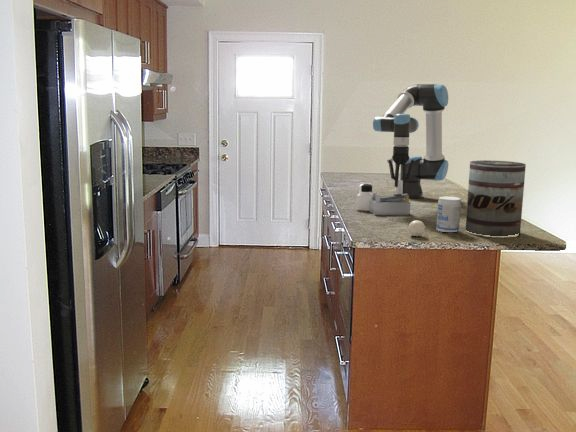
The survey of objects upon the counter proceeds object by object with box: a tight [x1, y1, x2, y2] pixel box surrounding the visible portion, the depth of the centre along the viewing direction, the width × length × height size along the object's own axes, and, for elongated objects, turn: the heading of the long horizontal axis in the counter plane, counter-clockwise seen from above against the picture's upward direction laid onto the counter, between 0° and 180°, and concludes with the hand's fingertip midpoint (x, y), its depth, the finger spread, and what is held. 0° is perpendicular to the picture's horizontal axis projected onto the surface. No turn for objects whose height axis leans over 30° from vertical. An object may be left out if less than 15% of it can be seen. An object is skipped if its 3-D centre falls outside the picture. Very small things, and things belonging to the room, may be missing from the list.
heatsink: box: [368, 192, 411, 216], centre depth 321 cm, size 18×10×10 cm, turn 97°
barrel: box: [465, 159, 527, 236], centre depth 277 cm, size 22×22×30 cm
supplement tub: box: [435, 195, 462, 233], centre depth 278 cm, size 10×10×15 cm
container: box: [355, 183, 373, 212], centre depth 330 cm, size 8×8×13 cm
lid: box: [375, 193, 409, 201], centre depth 321 cm, size 16×4×2 cm, turn 97°
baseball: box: [407, 219, 426, 237], centre depth 268 cm, size 7×7×7 cm
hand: (399, 193), depth 321 cm, fingers closed
